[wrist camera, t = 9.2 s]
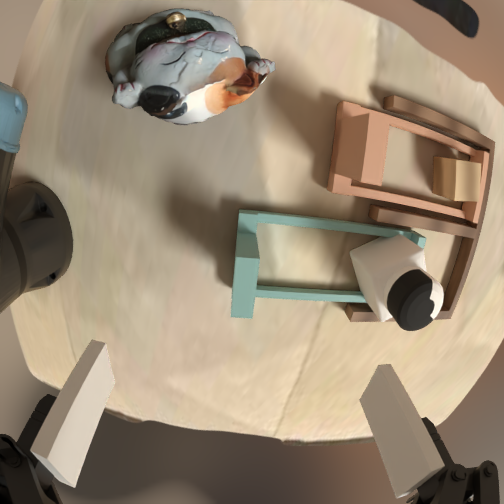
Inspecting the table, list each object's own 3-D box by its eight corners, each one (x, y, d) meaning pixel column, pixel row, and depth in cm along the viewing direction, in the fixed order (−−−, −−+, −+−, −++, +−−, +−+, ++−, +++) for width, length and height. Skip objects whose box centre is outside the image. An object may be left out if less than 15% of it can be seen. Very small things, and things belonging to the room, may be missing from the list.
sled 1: (326, 190, 31) (356, 206, 22) (337, 103, 27) (371, 90, 19) (464, 217, 32) (505, 237, 24) (475, 151, 29) (519, 159, 20)
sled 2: (232, 290, 35) (229, 334, 26) (239, 209, 31) (238, 232, 23) (394, 298, 36) (424, 334, 28) (414, 230, 33) (454, 255, 24)
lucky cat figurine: (238, 8, 23) (297, -6, 13) (239, 97, 31) (290, 131, 22) (105, 25, 19) (79, 11, 10) (117, 118, 27) (103, 164, 18)
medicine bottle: (360, 295, 36) (398, 349, 25) (347, 250, 34) (390, 297, 23) (404, 274, 35) (451, 319, 24) (395, 229, 33) (449, 265, 22)
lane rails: (344, 311, 37) (350, 321, 35) (384, 97, 27) (394, 95, 25) (442, 311, 38) (450, 318, 36) (484, 140, 28) (495, 141, 26)
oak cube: (432, 192, 31) (454, 200, 27) (433, 156, 30) (456, 159, 25) (456, 193, 31) (478, 201, 27) (457, 159, 30) (481, 163, 25)
